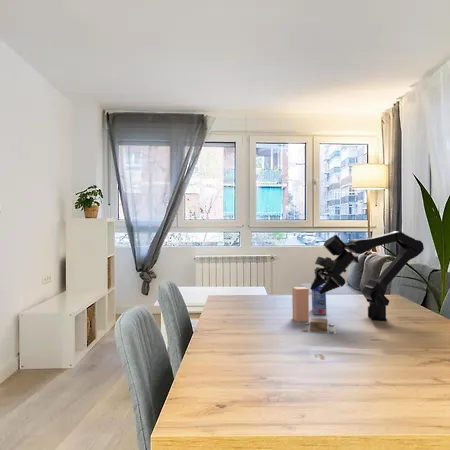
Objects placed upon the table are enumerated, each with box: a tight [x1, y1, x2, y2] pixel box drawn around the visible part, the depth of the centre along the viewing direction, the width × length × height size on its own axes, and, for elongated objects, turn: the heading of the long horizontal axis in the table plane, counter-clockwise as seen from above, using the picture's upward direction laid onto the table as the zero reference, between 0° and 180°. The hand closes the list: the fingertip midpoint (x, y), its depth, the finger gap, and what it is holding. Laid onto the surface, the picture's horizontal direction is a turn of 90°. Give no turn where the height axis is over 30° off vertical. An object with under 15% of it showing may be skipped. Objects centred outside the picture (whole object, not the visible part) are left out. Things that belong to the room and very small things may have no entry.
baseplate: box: [300, 322, 337, 335], centre depth 146 cm, size 12×12×2 cm
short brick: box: [309, 317, 328, 331], centre depth 146 cm, size 6×6×3 cm
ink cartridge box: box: [310, 282, 327, 315], centre depth 177 cm, size 10×6×14 cm, turn 174°
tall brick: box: [291, 286, 310, 323], centre depth 159 cm, size 5×5×14 cm
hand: (315, 291), depth 160 cm, fingers open, 9 cm apart
